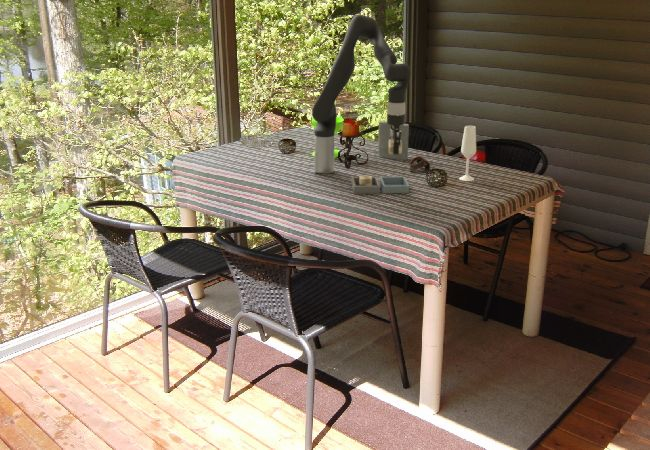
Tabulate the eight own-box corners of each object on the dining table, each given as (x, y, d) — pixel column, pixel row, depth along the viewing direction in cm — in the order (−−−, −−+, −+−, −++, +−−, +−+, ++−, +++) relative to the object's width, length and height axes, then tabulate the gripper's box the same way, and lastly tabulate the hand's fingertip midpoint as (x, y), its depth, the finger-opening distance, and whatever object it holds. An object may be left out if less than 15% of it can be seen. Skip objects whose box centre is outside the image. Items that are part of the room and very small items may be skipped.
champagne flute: (464, 175, 337) (468, 124, 329) (477, 178, 333) (480, 126, 324) (456, 178, 333) (459, 126, 324) (468, 181, 328) (472, 129, 320)
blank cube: (360, 190, 315) (360, 179, 313) (359, 186, 320) (359, 175, 318) (371, 190, 315) (372, 178, 313) (370, 186, 320) (370, 175, 318)
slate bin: (383, 194, 311) (383, 186, 310) (379, 184, 324) (379, 176, 323) (409, 194, 312) (409, 186, 310) (404, 184, 325) (404, 176, 324)
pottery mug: (433, 175, 340) (426, 161, 336) (414, 182, 343) (407, 169, 339) (431, 161, 350) (424, 148, 346) (412, 169, 353) (405, 156, 349)
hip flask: (408, 158, 365) (410, 119, 358) (405, 160, 362) (406, 120, 355) (379, 154, 372) (380, 116, 365) (376, 156, 369) (377, 117, 362)
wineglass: (343, 158, 366) (344, 123, 359) (311, 158, 366) (311, 123, 360) (343, 150, 381) (343, 116, 374) (312, 150, 381) (312, 116, 375)
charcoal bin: (354, 194, 311) (354, 186, 310) (351, 185, 324) (351, 177, 323) (379, 194, 311) (380, 186, 310) (376, 184, 324) (376, 176, 323)
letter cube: (389, 154, 308) (390, 141, 306) (388, 150, 312) (388, 139, 310) (401, 153, 308) (402, 141, 306) (399, 150, 312) (400, 138, 311)
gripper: (385, 109, 310) (383, 148, 316) (389, 116, 297) (388, 156, 303) (402, 109, 311) (401, 148, 317) (407, 116, 297) (406, 156, 303)
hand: (394, 152), depth 310 cm, fingers closed on letter cube, 5 cm apart
